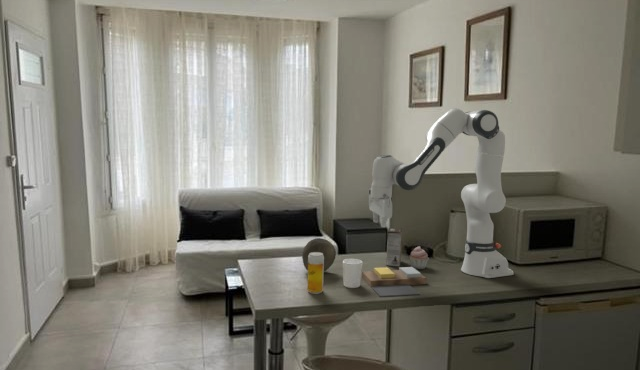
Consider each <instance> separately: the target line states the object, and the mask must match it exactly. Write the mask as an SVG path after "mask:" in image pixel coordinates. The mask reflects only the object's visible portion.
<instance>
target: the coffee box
mask: <svg viewBox="0 0 640 370" xmlns="http://www.w3.org/2000/svg"><path fill="white" fill-rule="evenodd" d="M402 235H403V228H401V227H400V228H399V227H388V230H387V235H386V236H387V237H386V238H387V239H386V241H387V242H386V263H385V264H386V266H392V267H400V266H401V256H402V240H403V239H402V238H403V237H402Z"/></svg>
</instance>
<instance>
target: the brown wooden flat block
mask: <svg viewBox="0 0 640 370" xmlns="http://www.w3.org/2000/svg"><path fill="white" fill-rule="evenodd" d="M390 270H391V269H390ZM391 271H392V272H393V273H395V278H380V277H379V276H378V275H377V274H376V273H375V272H374V270H371V271H370V270H368V271H362V273H361V279H363V280H364V281H365V283H366V284H368V286H369V287H370V288H371V286H383V285H403V284H409V285H410V286H411V285H413V286H414V285H427V284H428V279H427V276H425V275H424V274H423V273H421V277H413V278H407V277H406V276H404V275H403V274H402V273H401V272H399V269H393V270H391Z"/></svg>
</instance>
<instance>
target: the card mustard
mask: <svg viewBox="0 0 640 370" xmlns="http://www.w3.org/2000/svg"><path fill="white" fill-rule="evenodd" d="M373 271H374V272H375V273H376V274H377V275H378V276H379V277H380V278H395V273H393V272H392V271H391V269H390V268H389V267H387V266H385V267H373Z"/></svg>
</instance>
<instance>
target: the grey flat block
mask: <svg viewBox="0 0 640 370" xmlns="http://www.w3.org/2000/svg"><path fill="white" fill-rule="evenodd" d="M398 270H399V272H401V273H402V274H403V275H404V276H406V277H407V278H413V277H421V274H422V273H421V272H420V271H419V270H418V269H414V268H413V267H411V266H404V267H403V266H402V267H400V266H398Z"/></svg>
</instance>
